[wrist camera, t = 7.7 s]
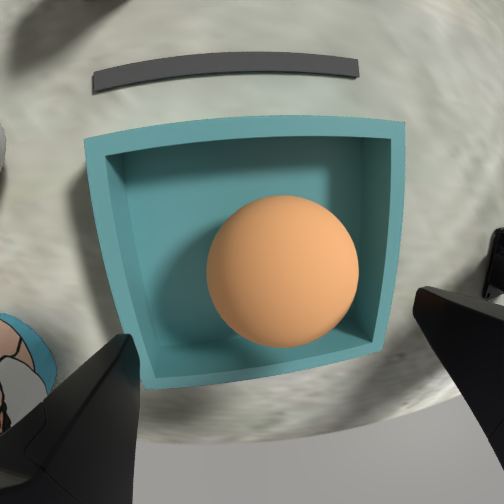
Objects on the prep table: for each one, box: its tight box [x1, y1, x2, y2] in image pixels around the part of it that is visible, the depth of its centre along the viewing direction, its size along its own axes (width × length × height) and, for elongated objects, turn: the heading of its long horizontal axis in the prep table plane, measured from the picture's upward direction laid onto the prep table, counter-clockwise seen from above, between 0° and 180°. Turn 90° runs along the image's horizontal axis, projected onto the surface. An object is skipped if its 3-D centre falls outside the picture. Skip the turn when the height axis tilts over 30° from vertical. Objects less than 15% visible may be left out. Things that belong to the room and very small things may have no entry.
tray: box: [84, 115, 405, 390], centre depth 14 cm, size 13×12×3 cm
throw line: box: [94, 52, 359, 92], centre depth 12 cm, size 13×1×1 cm, turn 94°
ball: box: [207, 195, 359, 348], centre depth 12 cm, size 6×6×6 cm
